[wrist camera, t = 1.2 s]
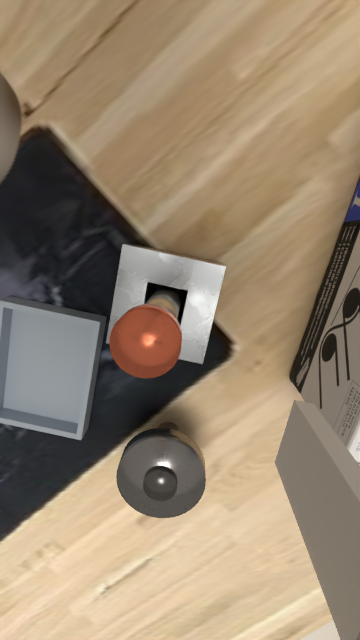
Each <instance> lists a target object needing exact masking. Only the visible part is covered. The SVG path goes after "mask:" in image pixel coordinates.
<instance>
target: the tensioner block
mask: <svg viewBox="0 0 360 640" xmlns="http://www.w3.org/2000/svg"><path fill="white" fill-rule="evenodd" d="M225 269H226V266H225V265H223V264H222V263H219V262H215V261H210V260H205V259H201V258H196V257H192V256H187V255H182V254H178V253H173V252H169V251H164V250H159V249H155V248H150V247H146V246H141V245H136V244H123V245H122V251H121V257H120V263H119V269H118V275H117V281H116V286H115V292H114V298H113V304H112V310H111V316H110V322H109V328H108V334H107V340H106V343H107V344H109V340H110V334H111V331H112V328H113V326H114V325H115V323H116V322H117V321H118V320H119V319H120V318H121V317H122V316H123V315H124V314H125V313H126V312H127V311H128V310H129V309H131V308H133V307H135V306H138V305H142V304H146V302H147V301H148V300H149V299H150V297H151V292H152V287H153V283H155V284H160V285H164V286H169V287H174V288H178V289H183V290H188V292H187V297H186V301H185V306H184V310H183V315H182V318H181V317H178V318H177V321H178V322H179V324H180V327H181V330H182V345H181V352H180V355H179V358H178V359H182V360H186V361H191V362H195V363H200V364H203V360H204V356H205V352H206V348H207V343H208V339H209V335H210V331H211V327H212V323H213V318H214V314H215V310H216V306H217V302H218V298H219V294H220V289H221V285H222V281H223V277H224V273H225Z"/></svg>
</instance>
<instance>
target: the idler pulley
mask: <svg viewBox="0 0 360 640" xmlns="http://www.w3.org/2000/svg"><path fill="white" fill-rule="evenodd" d="M205 481H206V478H205V461H204V457H203V454H202V452H201V450H200V448H199V447H198V445H197V444H196V443H195V442H194V441H193V440H192V439H191V438H190V437H188V436H187V435H185V434H183V433H181V432H179V431H178V428H177V426H176V425H175V424H173V423H171V422H165V423H162V424H161V425H160V426H159V427H158V428H155V429H150V430H147V431H144V432H142V433H140V434H138V435H137V436H135V437H134V438H133V439H132V440H131V441H130V442H129V443H128V444H127V446H126V447H125V449H124V452H123V454H122V457H121V460H120V463H119V466H118V470H117V485H118V488H119V491H120V493H121V495H122V497H123V498H124V500H125V501H126V502H127V503H128V504H129V505H130V506H131V507H132V508H134V509H135V510H137V511H138V512H140V513H142V514H145V515H147V516H151V517H157V518H170V517H175V516H178V515H181V514H184V513H186V512H187V511H189V510H190V509H192V508H193V507H194V506H195V505H196V504H197V503H198V502H199V500H200V499H201V497H202V495H203V492H204V489H205Z"/></svg>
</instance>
